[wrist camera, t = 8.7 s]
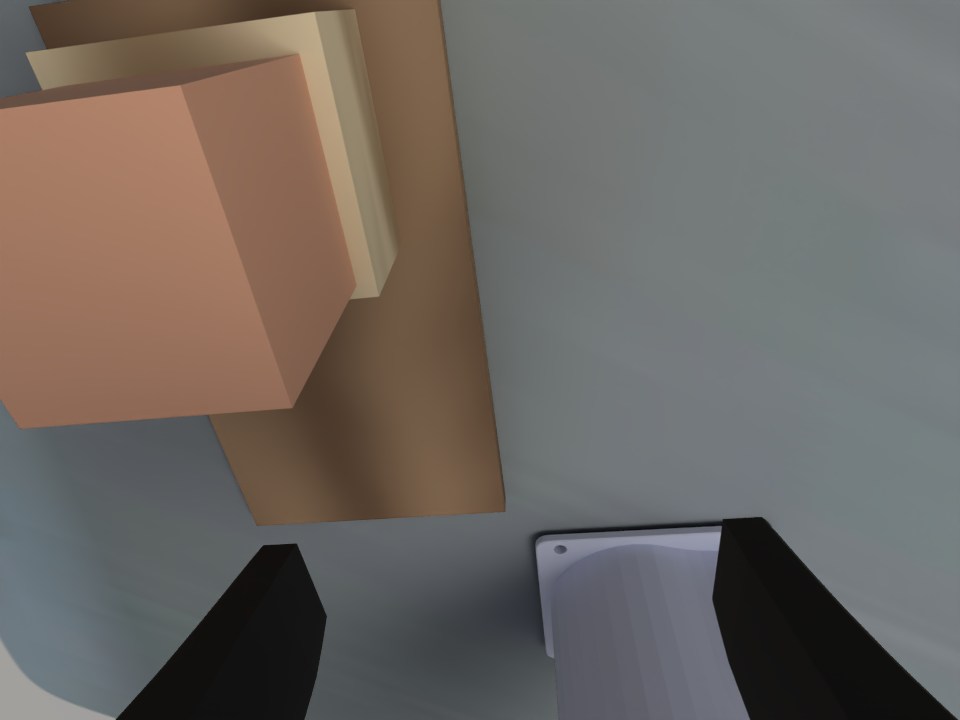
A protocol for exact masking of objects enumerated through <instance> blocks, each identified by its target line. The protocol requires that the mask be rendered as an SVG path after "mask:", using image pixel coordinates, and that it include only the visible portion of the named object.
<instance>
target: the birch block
mask: <svg viewBox="0 0 960 720" xmlns="http://www.w3.org/2000/svg"><path fill="white" fill-rule="evenodd" d="M295 54H300V57H301V62H302V66H303V70H304V74H305V78H306V82H307V86H308V90H309V94H310V98H311V102H312V106H313V110H314V114H315V118H316V122H317V126H318V130H319V135H320V139H321V143H322V147H323V151H324V155H325V159H326V163H327V167H328V171H329V175H330V179H331V183H332V187H333V191H334V195H335V199H336V204H337V208H338V212H339V216H340V220H341V224H342V228H343V232H344V236H345V240H346V244H347V248H348V252H349V256H350V260H351V264H352V268H353V272H354V277H355V281H356V285H357V286H356V288H355V290H354V292H353V294H352V296H351V298H350V299H359V298H370V297H379V296H380V293H381V291H382V289H383V286H384V284H385V282H386V279H387V277H388V275H389V272H390V270H391V268H392V265H393V263H394V261H395V258H396V256H397V254H398V252H399V249H400V247H401V242H400V237H399V232H398V227H397V222H396V217H395V212H394V207H393V201H392V196H391V191H390V186H389V181H388V176H387V171H386V166H385V161H384V156H383V151H382V145H381V140H380V135H379V130H378V125H377V120H376V115H375V110H374V105H373V100H372V94H371V89H370V84H369V79H368V74H367V69H366V64H365V59H364V54H363V49H362V44H361V38H360V33H359V28H358V23H357V18H356V13H355V9H350V10H335V11H319V12H310V13H303V14H296V15H288V16H281V17H274V18H267V19H260V20H253V21H246V22H239V23H232V24H225V25H218V26H211V27H204V28H197V29H189V30H182V31H175V32H168V33H161V34H154V35H147V36H140V37H133V38H126V39H119V40H112V41H105V42H97V43H90V44H83V45H76V46H69V47H62V48H55V49H48V50H41V51H34V52H27V53H26V55H27V58H28V60H29V62H30V64H31V66H32V68H33V71H34V73H35V75H36V77H37V79H38V82H39V84H40V86H41V88H42V90H45V89H50V88H56V87H61V86H66V85H73V84H81V83H88V82H96V81H103V80H110V79H118V78H125V77H132V76H140V75H147V74H155V73H162V72H169V71H177V70H184V69H191V68H199V67H206V66H213V65H221V64H228V63H236V62H243V61H250V60H258V59H265V58H272V57H280V56H287V55H295Z"/></svg>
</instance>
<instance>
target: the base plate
mask: <svg viewBox="0 0 960 720" xmlns="http://www.w3.org/2000/svg"><path fill="white" fill-rule="evenodd" d="M29 9H30V11H31V14H32V16H33V18H34V20H35V23H36V25H37V27H38V30H39V32H40V34H41V36H42V39H43V41H44V43H45V45H46V48H47V50H48V49H55V48H62V47H69V46H76V45H83V44H90V43H97V42H105V41H112V40H119V39H126V38H133V37H140V36H147V35H154V34H161V33H168V32H175V31H182V30H189V29H197V28H204V27H211V26H218V25H225V24H232V23H239V22H246V21H253V20H260V19H267V18H274V17H281V16H288V15H296V14H303V13H310V12H319V11H335V10H350V9H355V13H356V18H357V23H358V28H359V33H360V38H361V44H362V49H363V54H364V59H365V64H366V69H367V74H368V79H369V84H370V89H371V94H372V100H373V105H374V110H375V115H376V120H377V125H378V130H379V135H380V140H381V145H382V151H383V156H384V161H385V166H386V171H387V176H388V181H389V186H390V191H391V196H392V201H393V207H394V212H395V217H396V222H397V227H398V232H399V237H400V242H401V247H400V249H399V252H398V254H397V256H396V258H395V261H394V263H393V265H392V268H391V270H390V272H389V275H388V277H387V279H386V282H385V284H384V286H383V289H382V291H381V293H380V296H379V297H370V298H359V299H349V301H348V303H347V305H346V307H345V309H344V311H343V313H342V315H341V317H340V319H339V320H338V322H337V324H336V326H335V328H334V330H333V332H332V334H331V336H330V338H329V339H328V341H327V343H326V345H325V347H324V349H323V351H322V353H321V355H320V357H319V358H318V360H317V362H316V364H315V366H314V368H313V370H312V372H311V374H310V376H309V377H308V379H307V381H306V383H305V385H304V387H303V389H302V391H301V393H300V395H299V396H298V398H297V400H296V402H295V404H294V406H293V408H287V409H274V410H261V411H248V412H235V413H222V414H209V415H208V416H209V418H210V421H211V423H212V425H213V428H214V430H215V432H216V434H217V437H218V439H219V441H220V443H221V446H222V448H223V450H224V453H225V455H226V457H227V459H228V462H229V464H230V466H231V468H232V471H233V473H234V475H235V478H236V480H237V482H238V484H239V487H240V489H241V491H242V493H243V496H244V498H245V500H246V503H247V505H248V507H249V509H250V512H251V514H252V516H253V519H254V521H255V523H256V525H257V526H264V525H281V524H299V523H317V522H334V521H352V520H370V519H387V518H405V517H423V516H440V515H458V514H476V513H494V512H505V490H504V482H503V475H502V467H501V460H500V452H499V444H498V437H497V429H496V422H495V414H494V406H493V399H492V391H491V384H490V376H489V368H488V361H487V353H486V346H485V338H484V330H483V323H482V315H481V308H480V300H479V292H478V285H477V277H476V270H475V262H474V254H473V247H472V239H471V231H470V224H469V216H468V209H467V201H466V193H465V186H464V178H463V171H462V163H461V155H460V148H459V140H458V133H457V125H456V117H455V110H454V102H453V95H452V87H451V79H450V72H449V64H448V57H447V49H446V41H445V34H444V26H443V19H442V11H441V3H440V0H71V1H64V2H57V3H51V4H44V5H37V6H30V7H29Z"/></svg>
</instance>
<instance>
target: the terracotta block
mask: <svg viewBox="0 0 960 720" xmlns="http://www.w3.org/2000/svg"><path fill="white" fill-rule="evenodd" d="M356 286H357V285H356V281H355V277H354V272H353V268H352V264H351V260H350V256H349V252H348V248H347V244H346V240H345V236H344V232H343V228H342V224H341V220H340V216H339V212H338V208H337V204H336V199H335V195H334V191H333V187H332V183H331V179H330V175H329V171H328V167H327V163H326V159H325V155H324V151H323V147H322V143H321V139H320V135H319V130H318V126H317V122H316V118H315V114H314V110H313V106H312V102H311V98H310V94H309V90H308V86H307V82H306V78H305V74H304V70H303V66H302V62H301V57H300V54H295V55H287V56H280V57H272V58H265V59H258V60H250V61H243V62H236V63H228V64H221V65H213V66H206V67H199V68H191V69H184V70H177V71H169V72H162V73H155V74H147V75H140V76H132V77H125V78H118V79H110V80H103V81H96V82H88V83H81V84H73V85H66V86H61V87H56V88H50V89H45V90H40V91H35V92H30V93H25V94H20V95H15V96H10V97H4V98H0V399H1V401H2V402H3V404H4V405H5V407H6V408H7V410H8V411H9V413H10V415H11V416H12V418H13V419H14V421H15V422H16V424H17V425H18V427H19V428H20V429H26V428H39V427H52V426H65V425H78V424H91V423H104V422H117V421H131V420H144V419H157V418H170V417H183V416H196V415H209V414H222V413H235V412H248V411H261V410H274V409H287V408H293V406H294V404H295V402H296V400H297V398H298V396H299V395H300V393H301V391H302V389H303V387H304V385H305V383H306V381H307V379H308V377H309V376H310V374H311V372H312V370H313V368H314V366H315V364H316V362H317V360H318V358H319V357H320V355H321V353H322V351H323V349H324V347H325V345H326V343H327V341H328V339H329V338H330V336H331V334H332V332H333V330H334V328H335V326H336V324H337V322H338V320H339V319H340V317H341V315H342V313H343V311H344V309H345V307H346V305H347V303H348V301H349V299H350V298H351V296H352V294H353V292H354V290H355V288H356Z"/></svg>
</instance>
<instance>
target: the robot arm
mask: <svg viewBox="0 0 960 720" xmlns="http://www.w3.org/2000/svg"><path fill="white" fill-rule="evenodd" d="M559 545H563V546H559ZM535 547H536V558H537V568H538V578H539V587H540V597H541V607H542V617H543V627H544V636H545V646H546V653H547V655H548V656H549V657H551V658H553V659H554V662H555V676H556V690H557V704H558V718H559V720H958V719H957V718H956V717H955V716H953V715H952V714H951V713H950V712H949V711H948V710H947V709H946V708H945V707H944V706H943V705H942V704H941V703H940V702H938V701H937V700H936V699H935V698H934V697H933V696H932V695H931V694H930V693H929V692H928V691H927V690H926V689H925V688H924V687H923V686H922V685H921V684H920V683H918V682H917V681H916V680H915V679H914V678H913V677H912V676H911V675H910V674H909V673H908V672H907V671H906V670H905V669H904V668H903V667H902V666H901V665H900V664H899V663H898V662H897V661H896V660H895V659H894V658H893V657H892V656H891V655H890V654H889V653H888V652H887V651H886V650H885V649H884V648H883V647H882V646H881V645H880V644H879V643H878V642H877V641H876V640H875V639H874V638H873V637H872V636H871V635H870V634H869V633H868V632H867V631H866V630H865V629H864V628H863V627H862V625H861V624H860V623H859V622H858V621H857V620H856V619H855V618H854V617H853V616H852V615H851V614H850V613H849V612H848V611H847V610H846V609H845V608H844V607H843V606H842V605H841V604H840V603H839V601H838V600H837V599H836V598H835V597H834V596H833V595H832V594H831V593H830V592H829V591H828V590H827V589H826V587H825V586H824V585H823V584H822V583H821V582H820V581H819V580H818V579H817V578H816V576H815V575H814V574H813V573H812V572H811V571H810V570H809V569H808V568H807V566H806V565H805V564H804V563H803V562H802V561H801V560H800V559H799V557H798V556H797V555H796V554H795V553H794V552H793V551H792V549H791V548H790V547H789V546H788V545H787V544H786V543H785V541H784V540H783V539H782V538H781V537H780V536H779V535H778V533H777V532H776V531H775V529H774V528H773V526H771V525H770V524H769V523H768V522H767V521H766V520H765V519H763V518H762V517H755V518H737V519H723V522H722V526H709V527H690V528H671V529H652V530H633V531H614V532H595V533H576V534H557V535H544V536H541V537H539V538H538V539H537V540H536V544H535ZM326 618H327V615H326V613H325V611H324V608H323V606H322V603H321V601H320V599H319V596H318V594H317V591H316V589H315V586H314V584H313V582H312V579H311V577H310V574H309V572H308V570H307V567H306V565H305V562H304V560H303V557H302V555H301V553H300V550H299V548H298V545H297V544H280V545H263V546H262V548H261V549H260V550H259V551H258V552H257V553H256V555H255V556H254V557H253V558H252V559H251V561H250V562H249V563H248V564H247V565H246V567H245V568H244V569H243V570H242V572H241V573H240V574H239V575H238V577H237V578H236V579H235V580H234V582H233V583H232V584H231V585H230V587H229V588H228V589H227V590H226V591H225V593H224V594H223V595H222V596H221V598H220V599H219V600H218V601H217V603H216V604H215V605H214V606H213V607H212V609H211V610H210V611H209V612H208V614H207V615H206V616H205V617H204V619H203V620H202V621H201V622H200V623H199V625H198V626H197V627H196V628H195V629H194V631H193V632H192V633H191V634H190V635H189V637H188V638H187V639H186V640H185V641H184V642H183V644H182V645H181V646H180V647H179V648H178V650H177V651H176V652H175V653H174V654H173V656H172V657H171V658H170V659H169V660H168V662H167V663H166V664H165V665H164V666H163V667H162V669H161V670H160V671H159V672H158V673H157V674H156V675H155V677H154V678H153V679H152V680H151V681H150V682H149V683H148V684H147V686H146V687H145V688H144V689H143V690H142V691H141V692H140V693H139V694H138V695H137V697H136V698H135V699H134V700H133V701H132V702H131V703H130V704H129V705H128V707H127V708H126V709H125V710H124V711H123V712H122V713H121V714H120V715H119V717H118V718H117V719H116V720H304V719H305V716H306V712H307V709H308V705H309V702H310V698H311V695H312V691H313V688H314V684H315V680H316V677H317V671H318V666H319V660H320V655H321V650H322V643H323V637H324V631H325V625H326Z"/></svg>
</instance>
